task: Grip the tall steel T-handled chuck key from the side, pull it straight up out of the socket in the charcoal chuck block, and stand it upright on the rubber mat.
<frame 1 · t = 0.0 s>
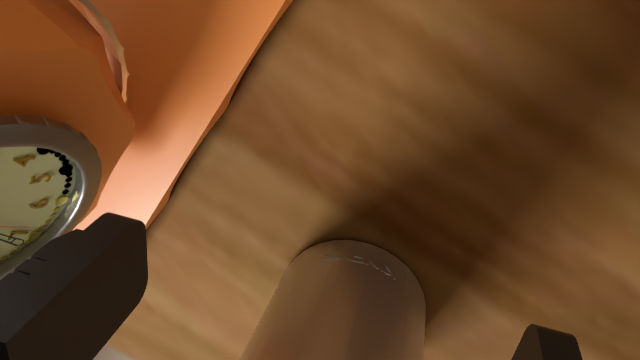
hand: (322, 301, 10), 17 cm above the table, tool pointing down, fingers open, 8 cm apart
desk clock: (116, 92, 30), on the table
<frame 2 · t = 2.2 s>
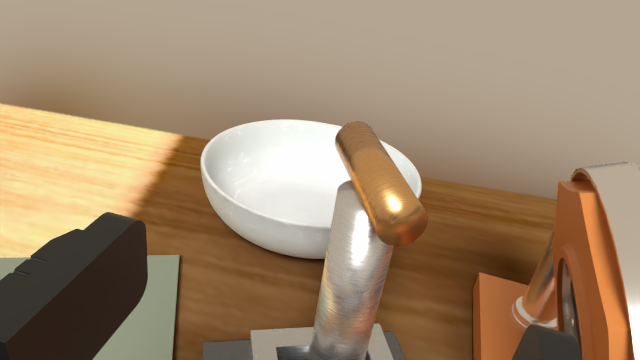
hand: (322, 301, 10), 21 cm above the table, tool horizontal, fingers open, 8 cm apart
serving bowl: (304, 222, 51), on the table
rubber mat: (52, 338, 34), on the table
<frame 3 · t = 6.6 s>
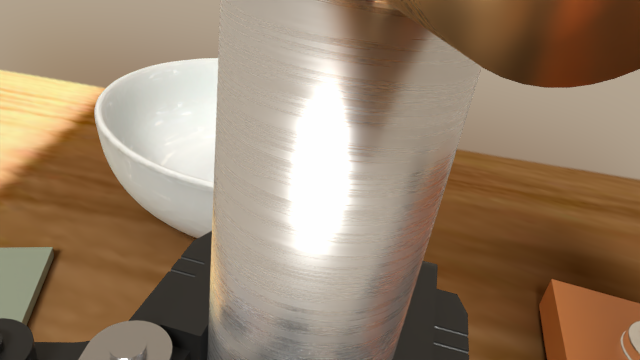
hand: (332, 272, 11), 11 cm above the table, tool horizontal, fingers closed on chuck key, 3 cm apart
serving bowl: (268, 201, 34), on the table
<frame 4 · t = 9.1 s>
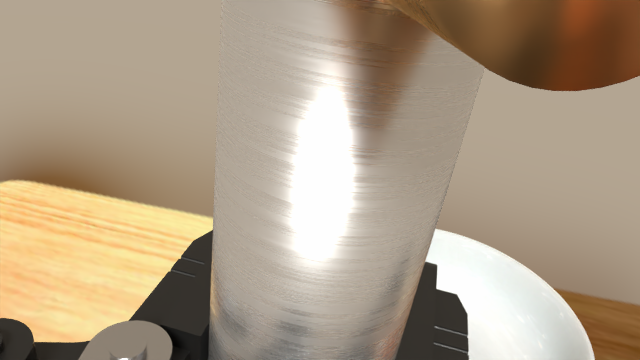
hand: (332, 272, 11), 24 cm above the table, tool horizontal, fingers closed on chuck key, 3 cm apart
when the fingers open (11 cm above the table, at t = 12.0 s): chuck key stays where it is, resting on rubber mat.
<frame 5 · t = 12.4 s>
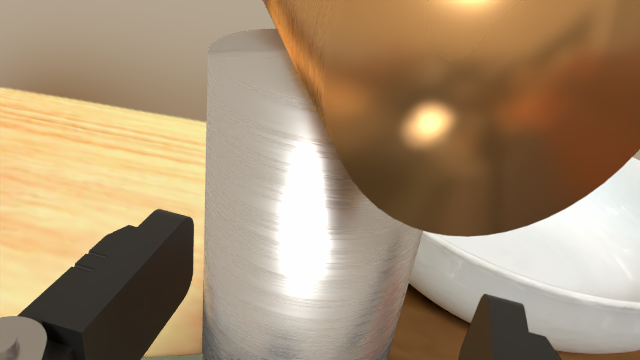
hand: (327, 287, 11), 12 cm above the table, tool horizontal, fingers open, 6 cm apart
serving bowl: (496, 270, 32), on the table
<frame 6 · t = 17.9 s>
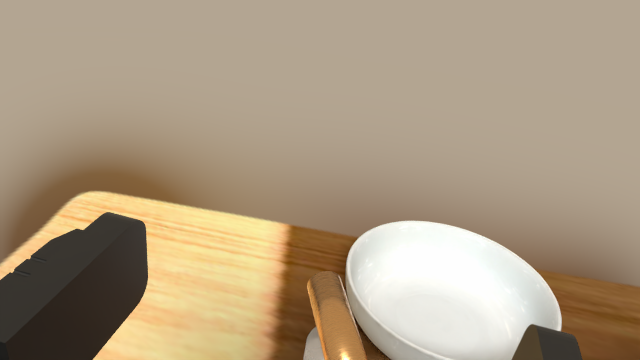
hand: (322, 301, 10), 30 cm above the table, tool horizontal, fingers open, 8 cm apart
serving bowl: (433, 330, 52), on the table
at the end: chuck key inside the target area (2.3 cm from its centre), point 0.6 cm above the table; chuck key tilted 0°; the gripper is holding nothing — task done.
